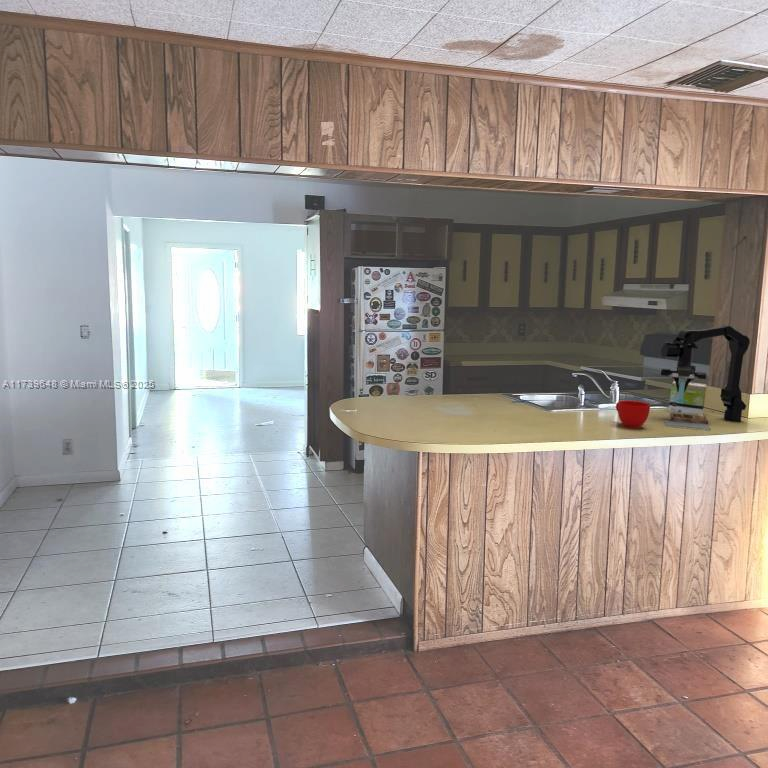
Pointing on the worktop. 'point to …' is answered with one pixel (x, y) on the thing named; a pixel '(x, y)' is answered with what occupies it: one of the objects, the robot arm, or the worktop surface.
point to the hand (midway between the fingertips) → (680, 392)
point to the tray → (687, 418)
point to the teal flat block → (681, 389)
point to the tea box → (688, 399)
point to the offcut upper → (698, 416)
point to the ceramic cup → (632, 413)
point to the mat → (687, 425)
